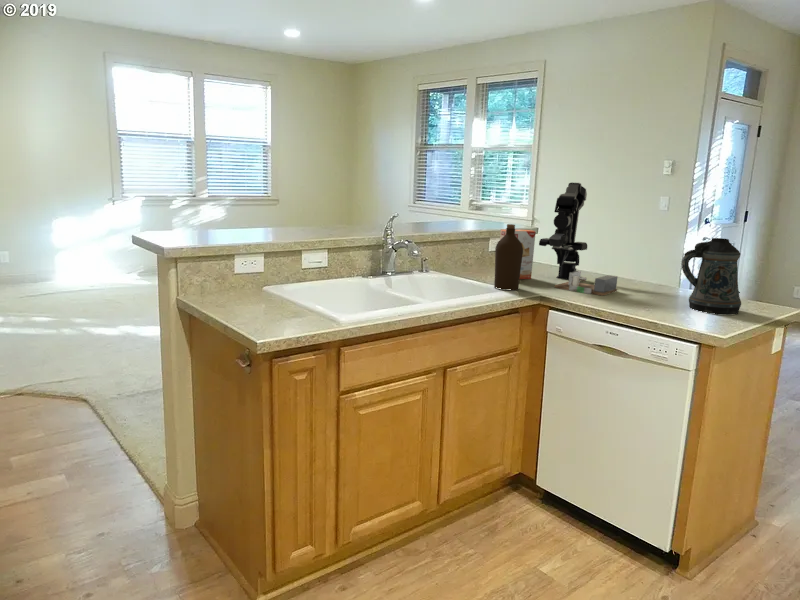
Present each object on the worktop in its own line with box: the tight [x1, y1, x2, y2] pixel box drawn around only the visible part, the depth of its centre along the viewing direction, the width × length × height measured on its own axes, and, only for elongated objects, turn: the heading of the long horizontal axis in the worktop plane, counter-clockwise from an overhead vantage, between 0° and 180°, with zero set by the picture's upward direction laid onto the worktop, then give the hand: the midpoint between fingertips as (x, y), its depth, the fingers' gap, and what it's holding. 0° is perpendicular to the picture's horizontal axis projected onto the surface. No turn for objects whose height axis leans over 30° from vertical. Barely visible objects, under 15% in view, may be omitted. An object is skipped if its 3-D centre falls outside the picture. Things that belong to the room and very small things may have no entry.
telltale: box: [573, 276, 579, 286], centre depth 239 cm, size 2×2×4 cm
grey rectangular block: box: [594, 274, 618, 293], centre depth 237 cm, size 4×12×5 cm, turn 139°
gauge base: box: [554, 281, 618, 296], centre depth 242 cm, size 20×15×2 cm
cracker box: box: [499, 228, 537, 280], centre depth 260 cm, size 14×6×21 cm, turn 107°
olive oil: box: [493, 223, 523, 291], centre depth 236 cm, size 11×11×25 cm
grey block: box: [568, 270, 587, 285], centre depth 243 cm, size 5×10×5 cm, turn 139°
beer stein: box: [681, 237, 742, 315], centre depth 211 cm, size 16×19×25 cm
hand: (560, 265), depth 248 cm, fingers closed
